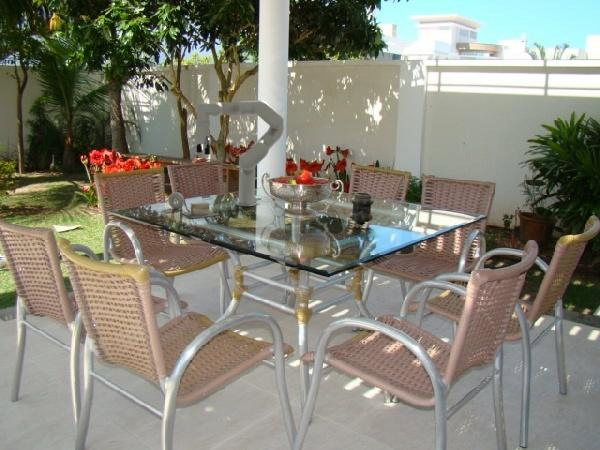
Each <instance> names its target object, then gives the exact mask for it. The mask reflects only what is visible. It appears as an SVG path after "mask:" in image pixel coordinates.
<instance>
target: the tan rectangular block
mask: <svg viewBox="0 0 600 450" xmlns="http://www.w3.org/2000/svg"><path fill="white" fill-rule="evenodd" d="M209 211H210V202H208V201H207V202H206V201H199V202H190V212H191V214H192V215H203V214H209Z"/></svg>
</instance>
